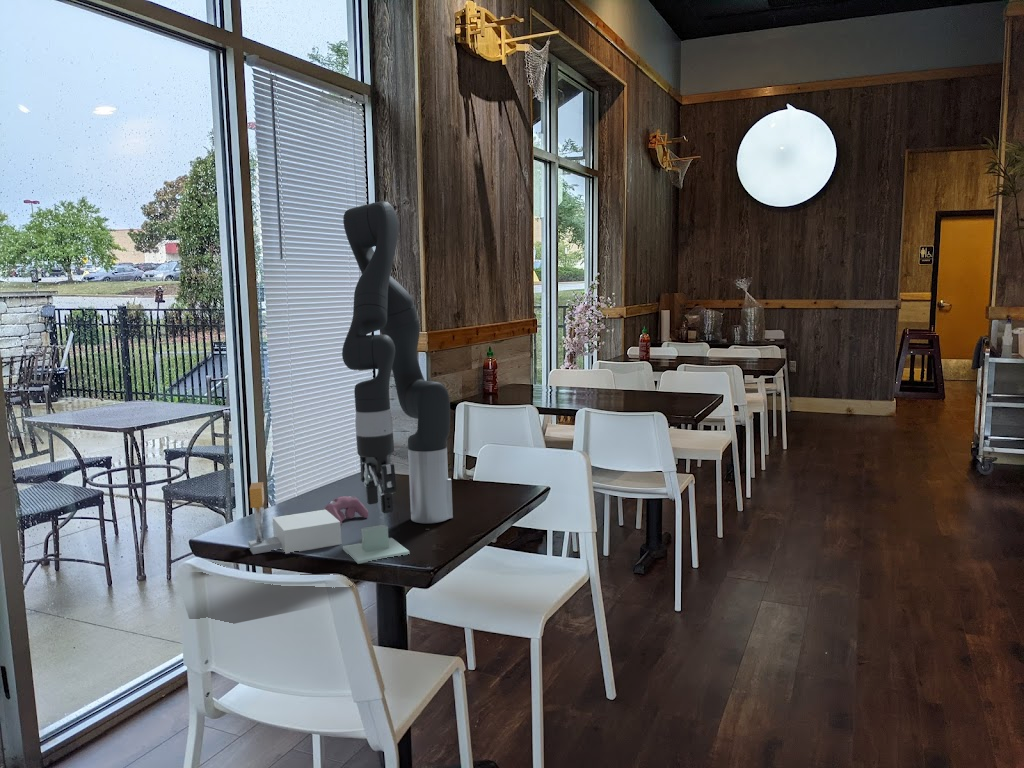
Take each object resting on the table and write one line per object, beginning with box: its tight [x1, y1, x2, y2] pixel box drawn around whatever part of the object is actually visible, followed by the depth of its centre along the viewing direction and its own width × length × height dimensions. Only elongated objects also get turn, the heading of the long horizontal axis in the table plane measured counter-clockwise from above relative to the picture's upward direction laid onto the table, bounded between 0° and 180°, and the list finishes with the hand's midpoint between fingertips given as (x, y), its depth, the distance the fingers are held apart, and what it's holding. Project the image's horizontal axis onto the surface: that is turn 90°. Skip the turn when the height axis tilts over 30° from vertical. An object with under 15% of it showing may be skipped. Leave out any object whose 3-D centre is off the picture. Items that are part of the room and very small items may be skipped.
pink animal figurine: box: [324, 495, 369, 526], centre depth 193 cm, size 10×5×7 cm, turn 143°
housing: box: [248, 509, 342, 555], centre depth 176 cm, size 18×12×5 cm, turn 118°
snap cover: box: [342, 524, 411, 565], centre depth 169 cm, size 11×11×6 cm
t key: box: [249, 481, 265, 542], centre depth 174 cm, size 9×2×12 cm, turn 14°
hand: (379, 507), depth 168 cm, fingers open, 8 cm apart
